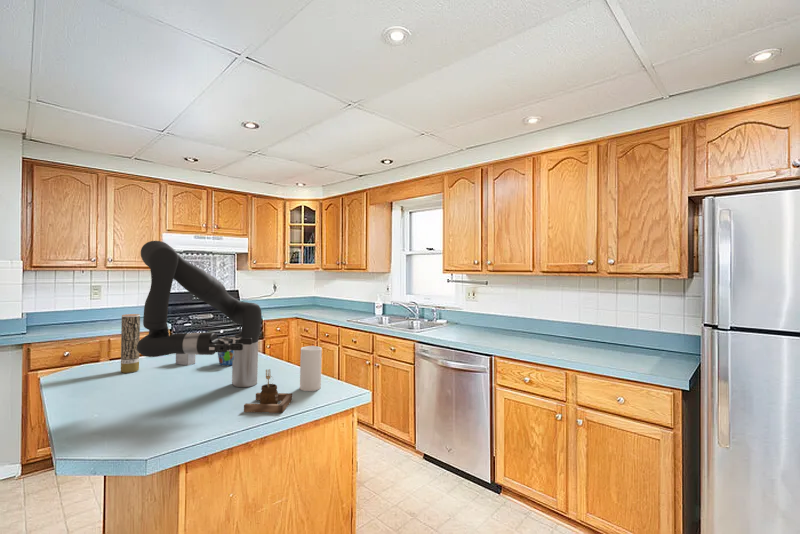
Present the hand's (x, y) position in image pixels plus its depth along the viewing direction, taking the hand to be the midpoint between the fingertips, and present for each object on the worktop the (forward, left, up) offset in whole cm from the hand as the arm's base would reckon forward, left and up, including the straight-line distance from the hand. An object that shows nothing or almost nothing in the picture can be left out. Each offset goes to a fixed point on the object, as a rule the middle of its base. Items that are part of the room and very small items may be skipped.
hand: (247, 344), depth 141 cm
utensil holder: (+7, +4, -22) cm, 23 cm away
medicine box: (-71, +16, -22) cm, 76 cm away
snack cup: (-55, +28, -22) cm, 66 cm away
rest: (+7, +4, -21) cm, 23 cm away
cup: (+3, +27, -22) cm, 35 cm away
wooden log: (-76, -6, -22) cm, 79 cm away
